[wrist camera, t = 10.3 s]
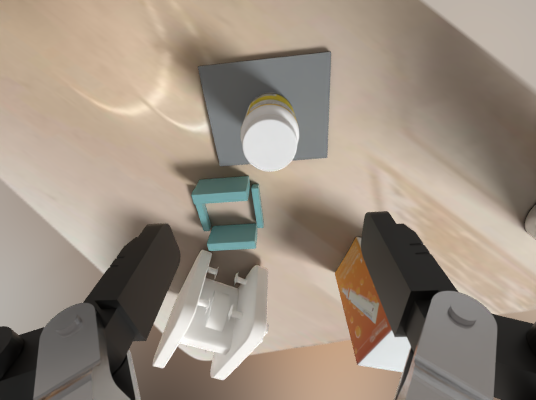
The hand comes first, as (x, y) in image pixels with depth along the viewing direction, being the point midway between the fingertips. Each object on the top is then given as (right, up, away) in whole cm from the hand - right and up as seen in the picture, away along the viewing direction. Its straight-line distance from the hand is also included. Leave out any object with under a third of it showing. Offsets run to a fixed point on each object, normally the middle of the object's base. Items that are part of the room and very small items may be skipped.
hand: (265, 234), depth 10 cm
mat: (0, +10, +15) cm, 18 cm away
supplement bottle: (0, +10, +15) cm, 18 cm away
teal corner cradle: (-5, +1, +21) cm, 22 cm away
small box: (+14, -7, +26) cm, 31 cm away
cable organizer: (-7, -11, +30) cm, 32 cm away
